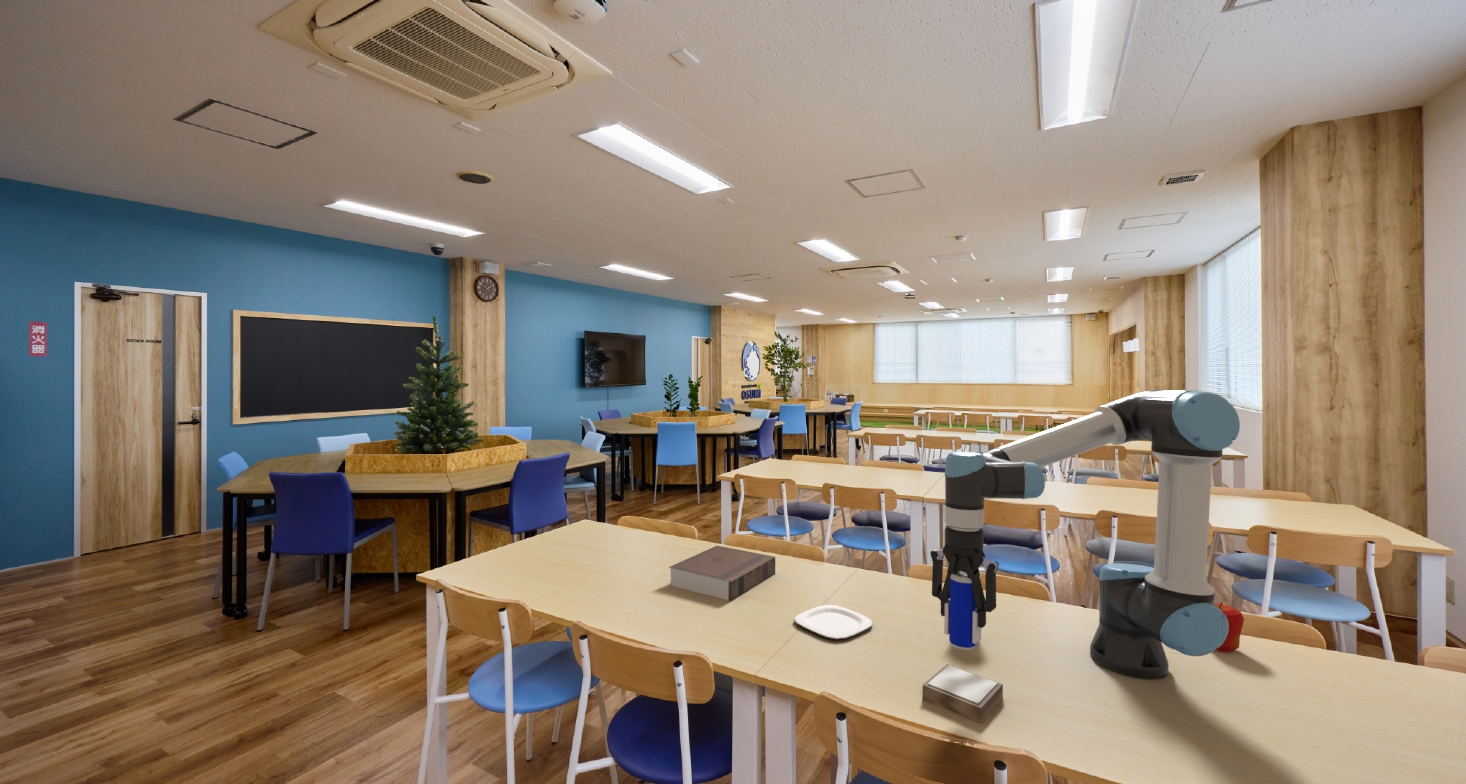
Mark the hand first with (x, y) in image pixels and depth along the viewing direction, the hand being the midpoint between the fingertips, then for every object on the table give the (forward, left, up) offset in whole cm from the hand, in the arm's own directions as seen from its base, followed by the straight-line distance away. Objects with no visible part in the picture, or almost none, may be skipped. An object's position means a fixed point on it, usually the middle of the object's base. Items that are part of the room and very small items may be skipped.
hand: (962, 636), depth 118 cm
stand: (0, 0, -13) cm, 13 cm away
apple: (-37, -67, -13) cm, 78 cm away
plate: (+40, -11, -14) cm, 44 cm away
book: (+86, -14, -14) cm, 88 cm away
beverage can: (0, 0, -2) cm, 2 cm away
